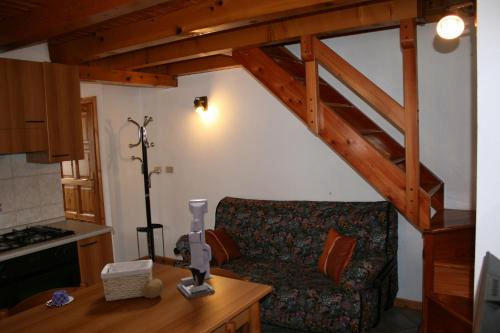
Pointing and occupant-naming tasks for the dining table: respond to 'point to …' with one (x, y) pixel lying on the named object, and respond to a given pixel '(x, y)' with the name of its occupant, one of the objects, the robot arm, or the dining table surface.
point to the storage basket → (126, 279)
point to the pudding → (60, 298)
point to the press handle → (198, 288)
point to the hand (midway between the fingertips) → (198, 282)
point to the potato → (152, 288)
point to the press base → (185, 288)
